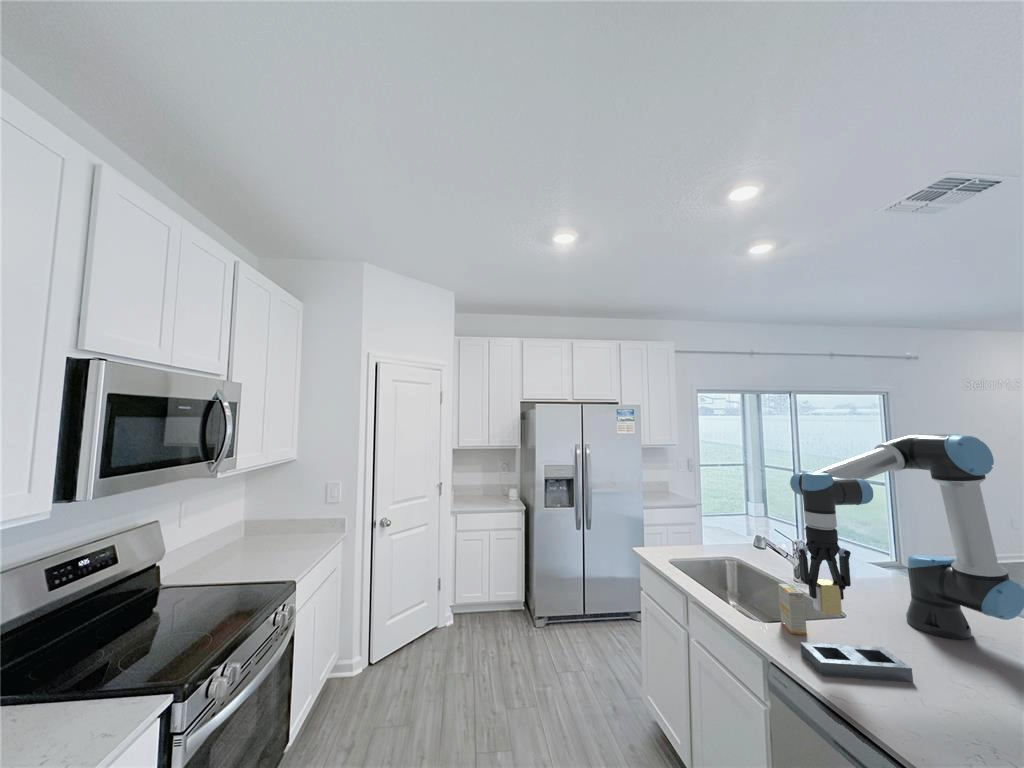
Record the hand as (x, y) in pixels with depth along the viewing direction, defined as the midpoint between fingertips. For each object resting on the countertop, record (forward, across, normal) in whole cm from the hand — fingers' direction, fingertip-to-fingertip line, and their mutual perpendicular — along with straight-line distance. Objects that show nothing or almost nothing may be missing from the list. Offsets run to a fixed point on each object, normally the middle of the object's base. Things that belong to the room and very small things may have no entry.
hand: (827, 610), depth 119 cm
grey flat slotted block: (+15, -6, 0) cm, 16 cm away
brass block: (0, 0, 0) cm, 0 cm away
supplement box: (+15, -1, -22) cm, 27 cm away
